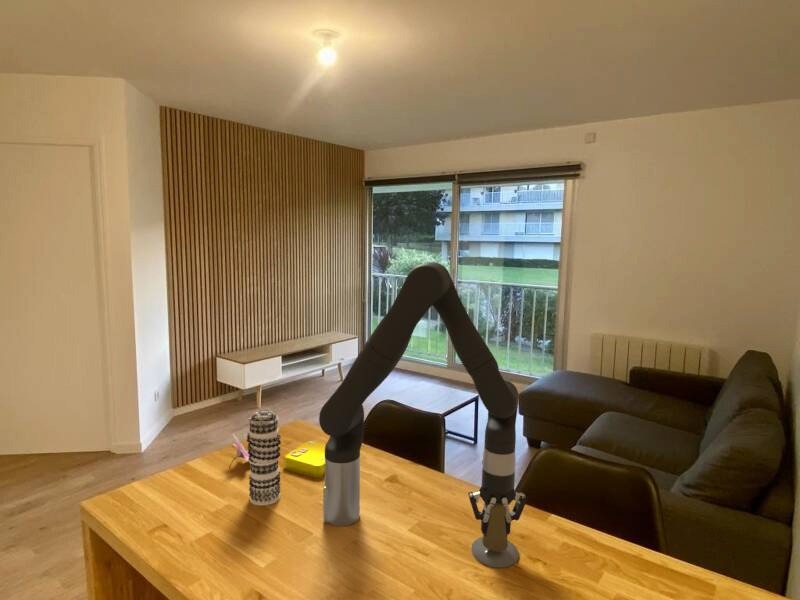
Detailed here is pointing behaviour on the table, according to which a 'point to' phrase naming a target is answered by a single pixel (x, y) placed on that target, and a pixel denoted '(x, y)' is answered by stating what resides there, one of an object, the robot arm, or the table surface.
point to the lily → (240, 451)
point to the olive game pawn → (496, 529)
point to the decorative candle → (264, 458)
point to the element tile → (307, 459)
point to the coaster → (495, 555)
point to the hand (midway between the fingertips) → (495, 534)
